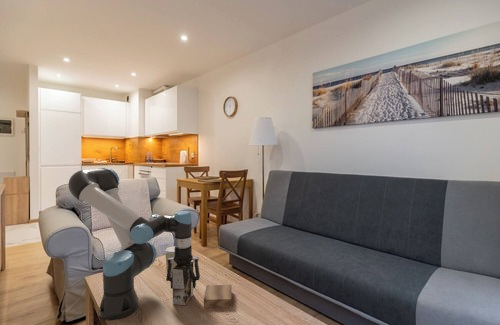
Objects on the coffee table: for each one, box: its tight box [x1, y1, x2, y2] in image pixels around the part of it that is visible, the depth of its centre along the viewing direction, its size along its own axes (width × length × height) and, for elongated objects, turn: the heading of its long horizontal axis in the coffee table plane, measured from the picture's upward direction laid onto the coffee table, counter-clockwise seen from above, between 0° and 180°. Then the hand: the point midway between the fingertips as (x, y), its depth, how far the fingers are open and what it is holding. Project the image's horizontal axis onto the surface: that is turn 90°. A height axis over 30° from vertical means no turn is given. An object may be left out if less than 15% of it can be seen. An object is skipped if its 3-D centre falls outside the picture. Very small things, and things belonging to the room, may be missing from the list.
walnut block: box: [203, 284, 233, 309], centre depth 120 cm, size 12×12×4 cm
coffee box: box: [172, 261, 194, 306], centre depth 119 cm, size 9×6×16 cm
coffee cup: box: [164, 245, 177, 273], centre depth 149 cm, size 9×9×12 cm
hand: (183, 294), depth 120 cm, fingers closed on coffee box, 7 cm apart
